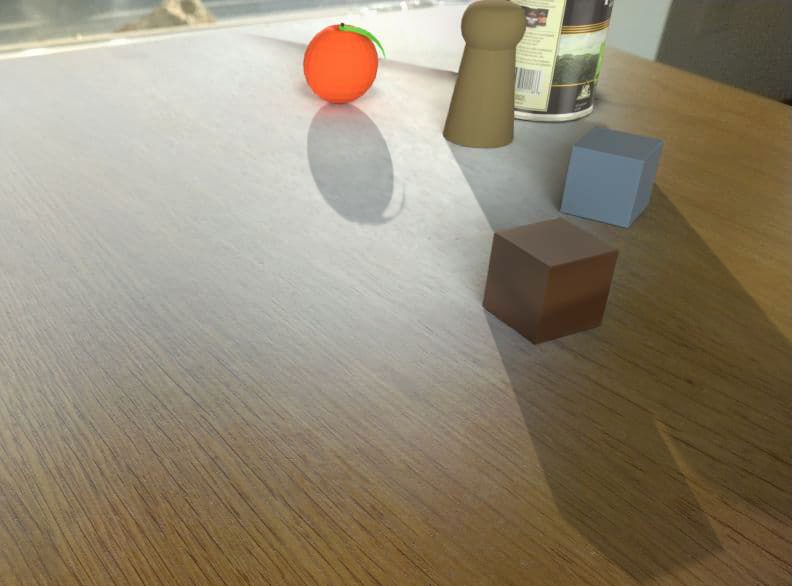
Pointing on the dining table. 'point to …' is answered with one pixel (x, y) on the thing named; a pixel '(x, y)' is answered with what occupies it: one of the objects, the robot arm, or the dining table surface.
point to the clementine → (341, 63)
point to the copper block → (549, 279)
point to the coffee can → (560, 58)
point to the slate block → (611, 176)
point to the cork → (486, 75)
